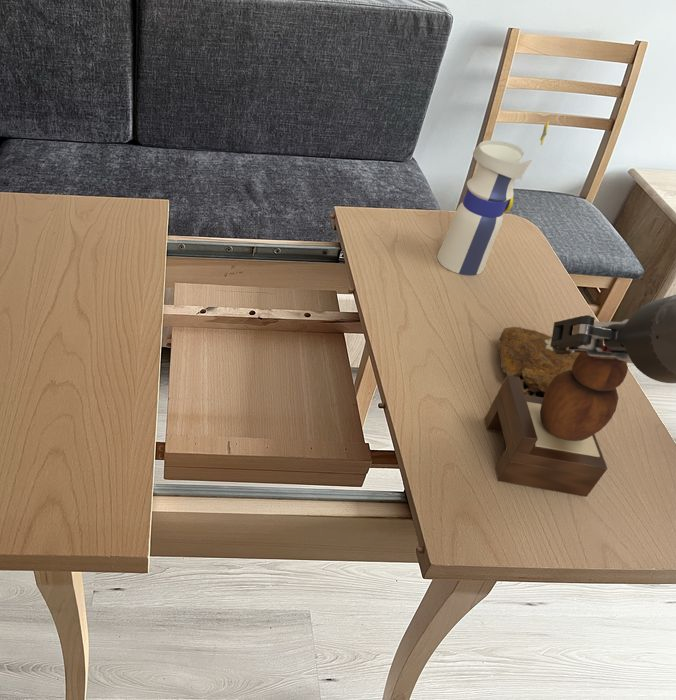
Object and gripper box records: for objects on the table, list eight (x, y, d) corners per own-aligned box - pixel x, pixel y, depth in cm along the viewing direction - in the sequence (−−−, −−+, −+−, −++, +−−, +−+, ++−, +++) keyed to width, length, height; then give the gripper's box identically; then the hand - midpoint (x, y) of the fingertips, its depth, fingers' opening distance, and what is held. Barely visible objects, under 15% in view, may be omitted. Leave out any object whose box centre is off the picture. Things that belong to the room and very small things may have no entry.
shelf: (565, 432, 86) (592, 389, 81) (586, 497, 78) (619, 453, 73) (484, 418, 86) (506, 374, 81) (497, 481, 78) (524, 437, 74)
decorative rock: (597, 426, 88) (562, 353, 99) (614, 402, 85) (576, 330, 97) (509, 409, 87) (485, 338, 99) (523, 385, 85) (497, 315, 97)
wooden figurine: (586, 417, 80) (653, 316, 71) (597, 454, 76) (670, 351, 66) (527, 405, 81) (585, 303, 71) (534, 441, 77) (597, 337, 67)
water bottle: (476, 248, 118) (536, 103, 101) (493, 277, 111) (560, 128, 95) (429, 245, 117) (482, 99, 101) (444, 274, 110) (503, 123, 94)
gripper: (604, 363, 57) (526, 373, 73) (784, 397, 56) (664, 400, 72) (618, 275, 57) (537, 304, 73) (797, 307, 56) (675, 330, 72)
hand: (600, 352), depth 73 cm, fingers open, 8 cm apart
